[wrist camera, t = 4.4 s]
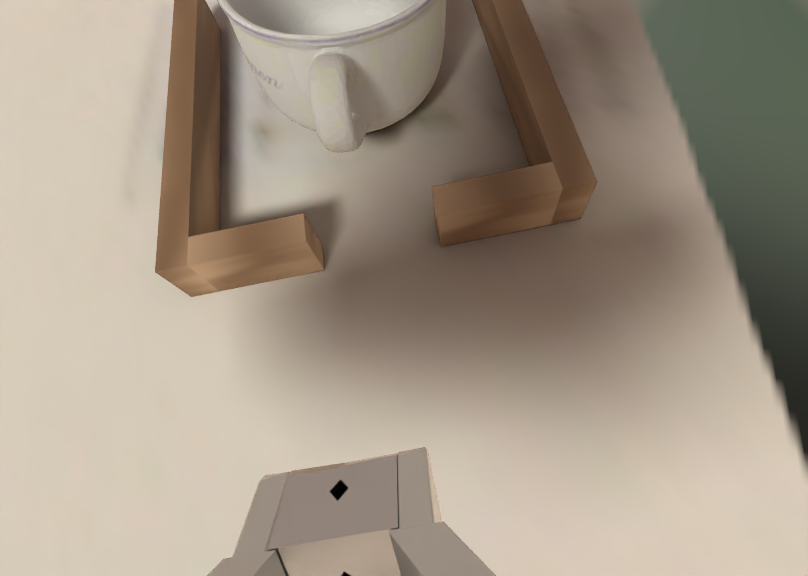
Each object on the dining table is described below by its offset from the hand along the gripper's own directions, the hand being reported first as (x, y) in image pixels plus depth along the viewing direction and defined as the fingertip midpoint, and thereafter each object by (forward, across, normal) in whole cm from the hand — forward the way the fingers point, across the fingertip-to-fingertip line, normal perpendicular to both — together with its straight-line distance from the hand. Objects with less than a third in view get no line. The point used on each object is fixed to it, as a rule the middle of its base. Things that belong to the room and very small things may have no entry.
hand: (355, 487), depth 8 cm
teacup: (+23, 0, -6) cm, 23 cm away
